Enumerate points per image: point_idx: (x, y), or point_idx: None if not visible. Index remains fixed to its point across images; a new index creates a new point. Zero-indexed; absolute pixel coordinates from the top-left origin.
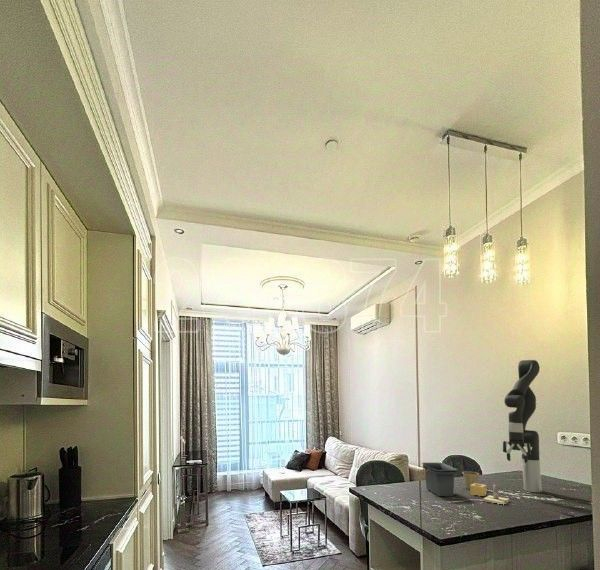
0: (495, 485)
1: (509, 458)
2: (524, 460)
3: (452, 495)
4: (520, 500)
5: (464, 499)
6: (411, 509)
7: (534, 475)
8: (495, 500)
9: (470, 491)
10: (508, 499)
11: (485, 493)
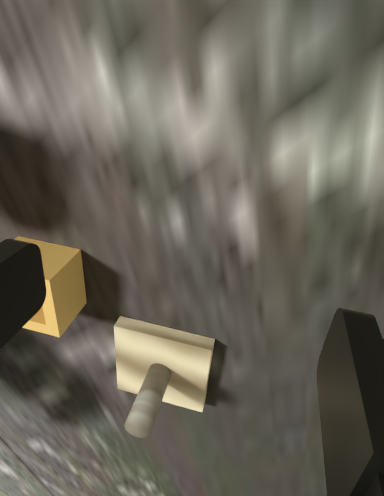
0: (139, 433)
1: (15, 320)
2: (321, 404)
3: (1, 349)
4: (266, 291)
5: (56, 367)
6: (25, 481)
7: None
8: (167, 398)
9: None
10: (211, 356)
11: (77, 271)
